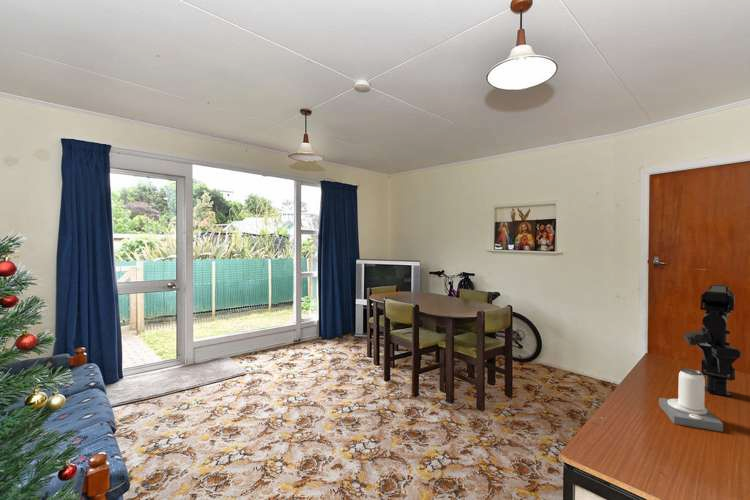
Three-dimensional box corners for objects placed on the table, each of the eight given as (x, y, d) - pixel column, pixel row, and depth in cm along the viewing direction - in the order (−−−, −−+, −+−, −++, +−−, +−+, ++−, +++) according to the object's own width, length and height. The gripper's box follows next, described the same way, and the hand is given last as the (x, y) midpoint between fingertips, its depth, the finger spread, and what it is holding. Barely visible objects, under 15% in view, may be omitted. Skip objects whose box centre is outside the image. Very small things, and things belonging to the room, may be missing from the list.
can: (709, 410, 113) (710, 374, 113) (694, 412, 112) (694, 376, 112) (688, 401, 120) (688, 367, 119) (673, 403, 118) (673, 368, 118)
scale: (658, 404, 124) (659, 395, 124) (701, 410, 119) (702, 401, 119) (674, 423, 111) (674, 413, 111) (723, 431, 106) (723, 421, 106)
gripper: (676, 318, 134) (675, 358, 135) (698, 329, 117) (697, 375, 117) (713, 321, 130) (712, 362, 130) (742, 333, 113) (741, 380, 113)
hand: (714, 369), depth 123 cm, fingers open, 9 cm apart
